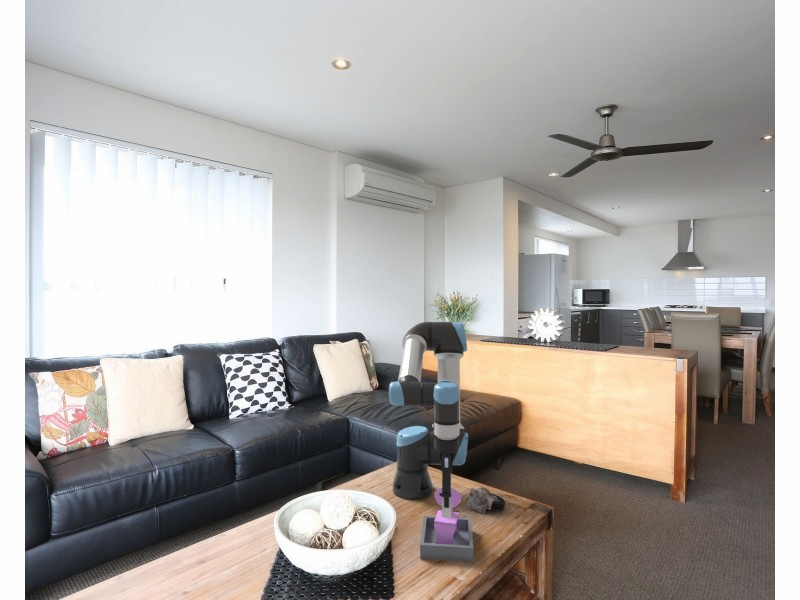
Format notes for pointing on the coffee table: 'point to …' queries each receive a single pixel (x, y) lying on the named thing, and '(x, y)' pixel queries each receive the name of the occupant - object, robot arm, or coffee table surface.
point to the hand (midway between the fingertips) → (446, 504)
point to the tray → (455, 552)
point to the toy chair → (446, 519)
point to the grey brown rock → (484, 500)
